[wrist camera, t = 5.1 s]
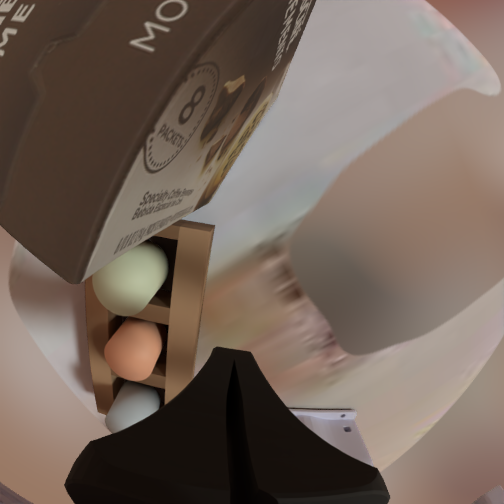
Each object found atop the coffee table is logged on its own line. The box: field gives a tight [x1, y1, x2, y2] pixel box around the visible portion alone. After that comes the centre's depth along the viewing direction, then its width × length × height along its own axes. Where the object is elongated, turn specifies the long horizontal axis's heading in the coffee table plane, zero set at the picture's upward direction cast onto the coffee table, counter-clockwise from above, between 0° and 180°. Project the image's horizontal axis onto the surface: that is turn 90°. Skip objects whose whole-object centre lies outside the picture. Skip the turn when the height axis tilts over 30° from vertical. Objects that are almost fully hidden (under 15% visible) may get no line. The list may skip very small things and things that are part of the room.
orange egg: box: [104, 316, 167, 381], centre depth 18 cm, size 3×3×4 cm
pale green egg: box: [92, 240, 169, 316], centre depth 16 cm, size 3×3×4 cm
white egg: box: [105, 380, 161, 433], centre depth 18 cm, size 3×3×4 cm
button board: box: [85, 219, 215, 415], centre depth 19 cm, size 17×8×3 cm, turn 169°
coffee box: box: [0, 0, 316, 284], centre depth 10 cm, size 9×6×16 cm
